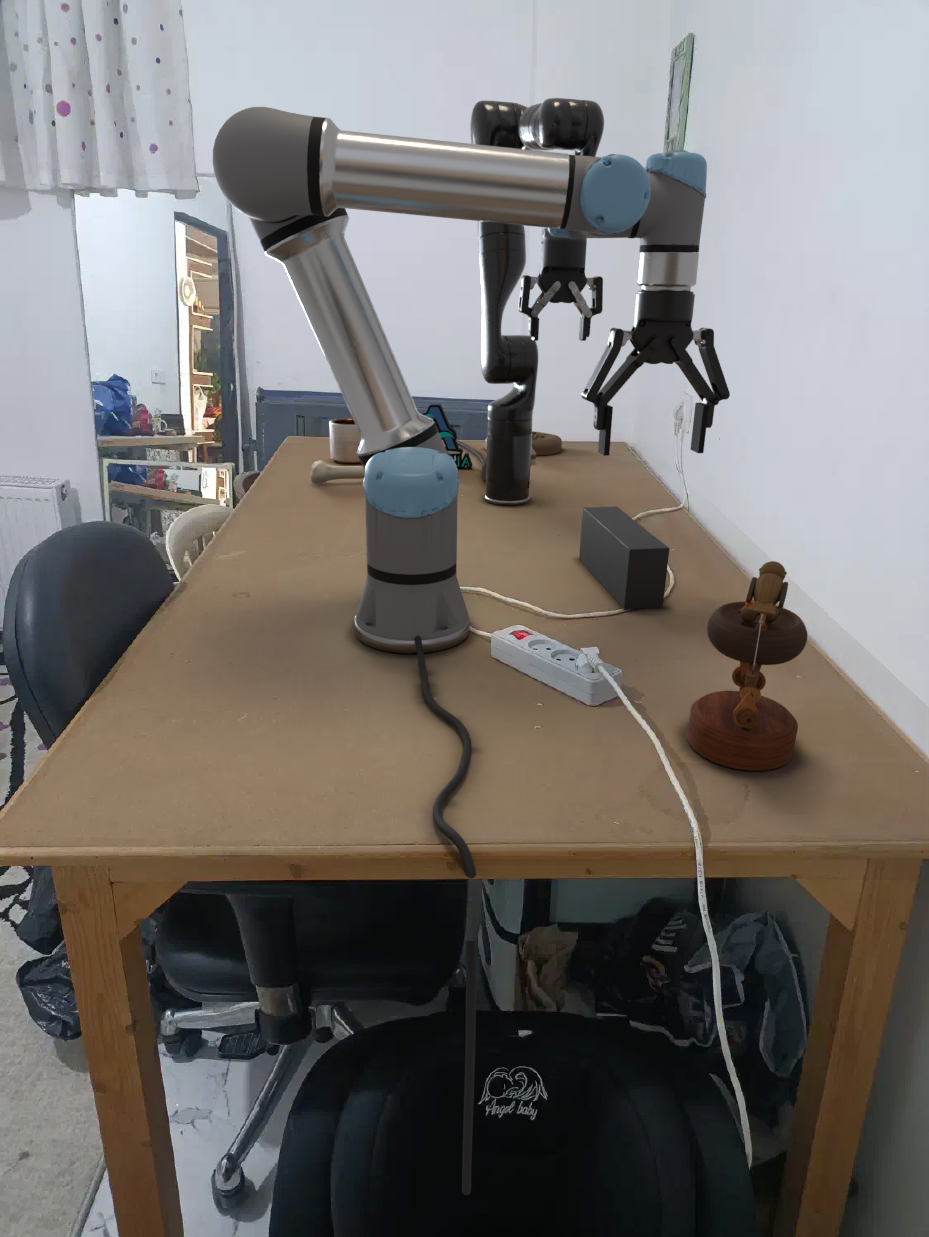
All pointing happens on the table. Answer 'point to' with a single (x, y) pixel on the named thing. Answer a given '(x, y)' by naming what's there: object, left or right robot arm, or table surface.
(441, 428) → the decorative sign
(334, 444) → the planter
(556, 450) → the ice cream bar
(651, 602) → the box
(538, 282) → the right robot arm
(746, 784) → the table surface
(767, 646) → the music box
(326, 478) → the dog toy
